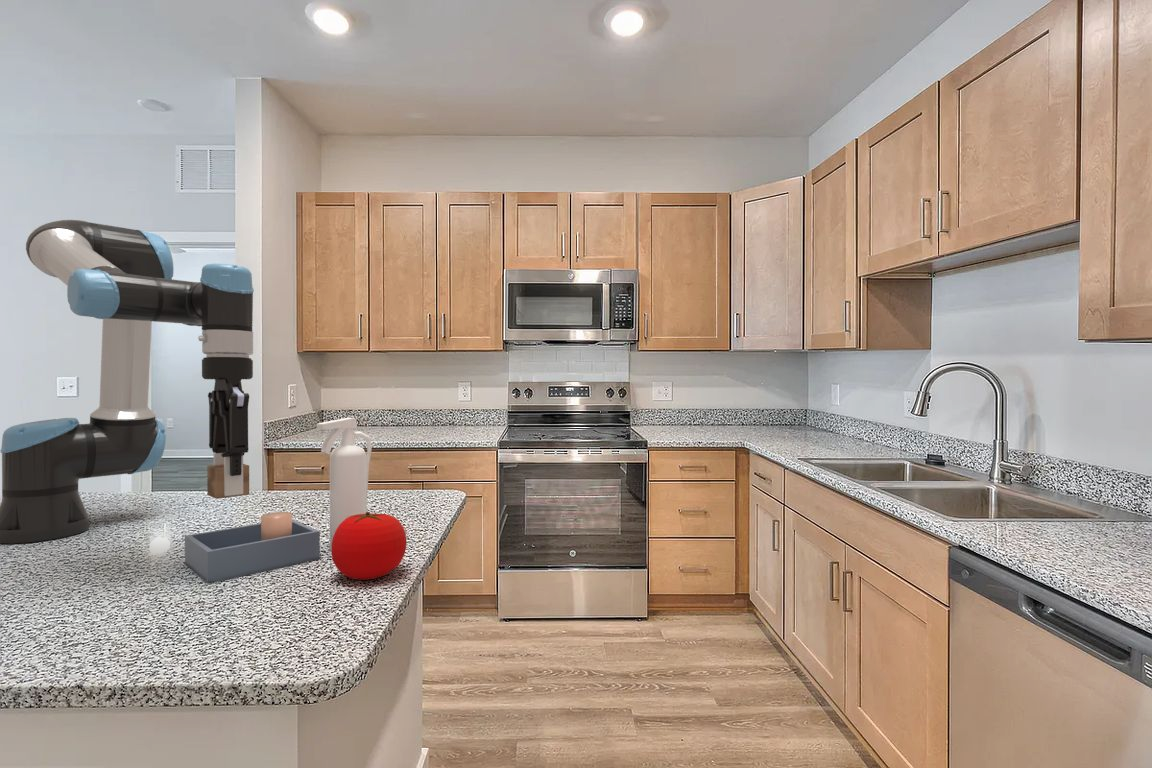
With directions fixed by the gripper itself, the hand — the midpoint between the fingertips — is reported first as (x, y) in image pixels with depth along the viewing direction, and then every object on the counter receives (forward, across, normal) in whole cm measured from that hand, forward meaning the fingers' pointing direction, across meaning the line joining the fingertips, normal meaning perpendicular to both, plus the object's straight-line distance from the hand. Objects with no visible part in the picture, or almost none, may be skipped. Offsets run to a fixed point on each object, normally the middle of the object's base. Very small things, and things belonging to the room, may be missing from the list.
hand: (228, 492), depth 101 cm
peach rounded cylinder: (+12, 0, +8) cm, 15 cm away
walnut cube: (0, 0, 0) cm, 0 cm away
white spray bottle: (+13, +4, +20) cm, 24 cm away
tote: (+13, 0, +4) cm, 13 cm away
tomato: (+13, +21, +15) cm, 29 cm away
